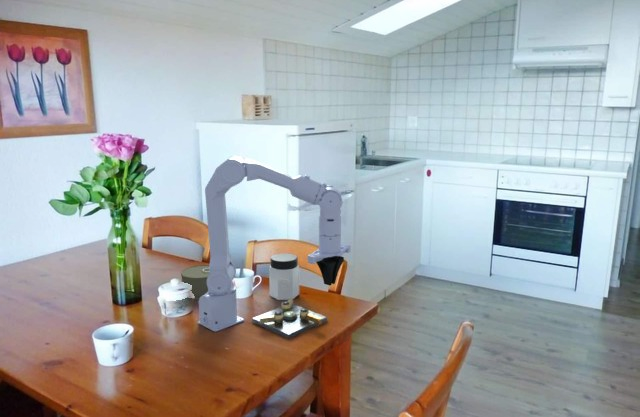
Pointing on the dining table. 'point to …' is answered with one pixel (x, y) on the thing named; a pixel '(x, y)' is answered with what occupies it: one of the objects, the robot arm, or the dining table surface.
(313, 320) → the front footscrew
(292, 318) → the plate
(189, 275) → the can
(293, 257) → the jar
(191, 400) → the dining table surface
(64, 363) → the dining table surface
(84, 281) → the dining table surface
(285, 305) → the back footscrew
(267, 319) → the left footscrew
